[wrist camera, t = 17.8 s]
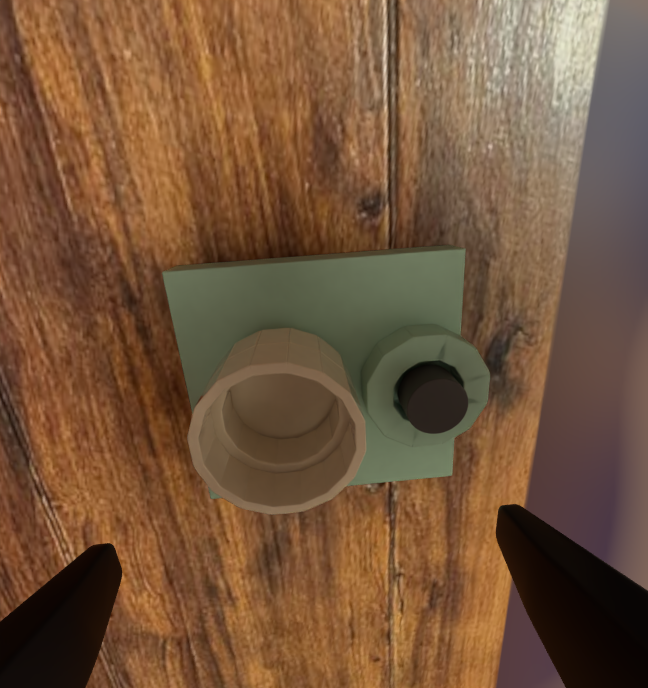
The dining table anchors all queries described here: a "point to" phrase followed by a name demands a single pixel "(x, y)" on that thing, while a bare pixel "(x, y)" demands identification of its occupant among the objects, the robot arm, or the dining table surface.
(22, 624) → the robot arm
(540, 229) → the dining table surface
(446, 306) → the scale
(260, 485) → the bowl
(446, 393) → the button
